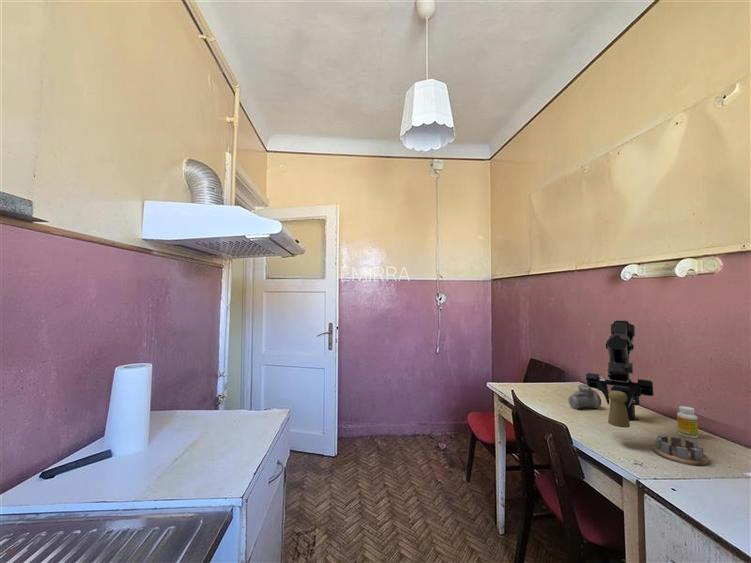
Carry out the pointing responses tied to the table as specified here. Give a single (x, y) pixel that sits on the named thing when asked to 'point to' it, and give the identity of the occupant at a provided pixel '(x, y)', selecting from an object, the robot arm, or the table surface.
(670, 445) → the castellated collar
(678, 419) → the supplement bottle
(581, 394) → the pipe fitting
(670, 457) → the walnut base
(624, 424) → the cork
